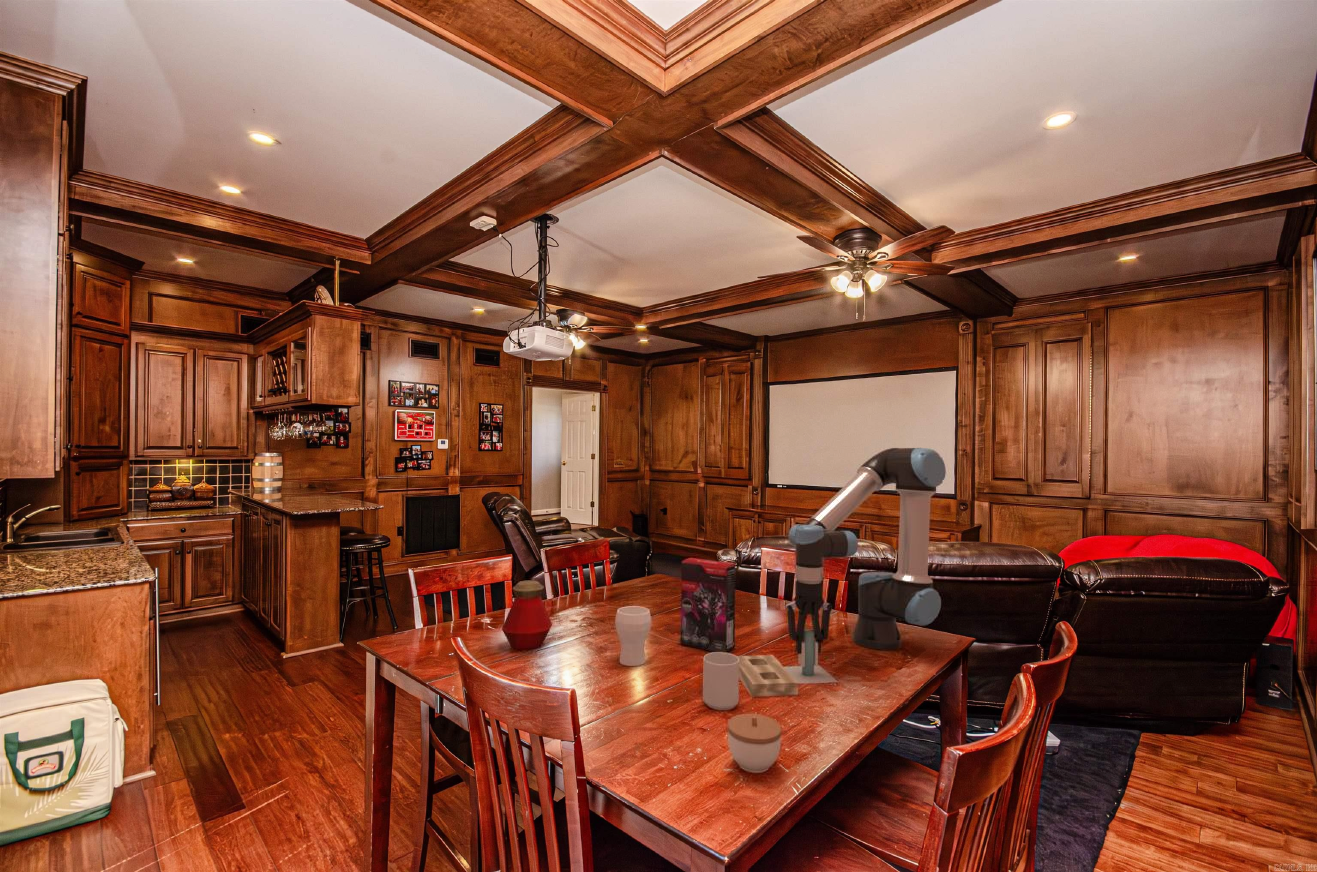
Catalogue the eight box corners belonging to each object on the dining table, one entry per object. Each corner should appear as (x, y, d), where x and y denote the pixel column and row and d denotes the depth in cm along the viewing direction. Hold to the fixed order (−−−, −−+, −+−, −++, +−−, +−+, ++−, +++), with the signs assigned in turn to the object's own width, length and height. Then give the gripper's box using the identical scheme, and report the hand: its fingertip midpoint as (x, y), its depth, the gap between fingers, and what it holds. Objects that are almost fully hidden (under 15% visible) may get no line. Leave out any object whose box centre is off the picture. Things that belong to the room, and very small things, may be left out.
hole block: (772, 667, 167) (772, 654, 167) (798, 696, 147) (798, 682, 147) (732, 668, 165) (732, 656, 165) (752, 698, 146) (752, 684, 146)
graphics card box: (678, 644, 185) (679, 559, 185) (689, 639, 191) (690, 556, 191) (726, 656, 175) (727, 566, 176) (736, 649, 181) (737, 563, 182)
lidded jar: (720, 772, 112) (721, 723, 112) (733, 746, 122) (734, 701, 122) (776, 784, 108) (776, 734, 108) (784, 756, 118) (785, 710, 118)
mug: (732, 714, 136) (733, 667, 137) (697, 707, 140) (698, 661, 140) (746, 695, 147) (746, 651, 148) (713, 688, 151) (713, 646, 151)
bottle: (549, 636, 190) (550, 576, 191) (554, 650, 177) (556, 585, 178) (500, 641, 185) (501, 578, 186) (502, 655, 173) (504, 588, 173)
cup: (657, 661, 170) (658, 610, 170) (632, 671, 162) (633, 617, 162) (632, 652, 177) (633, 603, 177) (607, 661, 169) (608, 610, 170)
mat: (819, 666, 168) (819, 665, 168) (837, 683, 156) (837, 681, 156) (780, 668, 166) (780, 666, 166) (795, 684, 154) (795, 683, 154)
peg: (811, 671, 163) (811, 629, 163) (815, 676, 160) (816, 632, 160) (800, 672, 162) (800, 629, 163) (804, 676, 159) (805, 632, 160)
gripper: (830, 577, 167) (829, 659, 166) (776, 578, 164) (775, 660, 164) (842, 583, 159) (841, 668, 158) (786, 584, 157) (785, 670, 156)
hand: (808, 664), depth 161 cm, fingers closed on peg, 3 cm apart
